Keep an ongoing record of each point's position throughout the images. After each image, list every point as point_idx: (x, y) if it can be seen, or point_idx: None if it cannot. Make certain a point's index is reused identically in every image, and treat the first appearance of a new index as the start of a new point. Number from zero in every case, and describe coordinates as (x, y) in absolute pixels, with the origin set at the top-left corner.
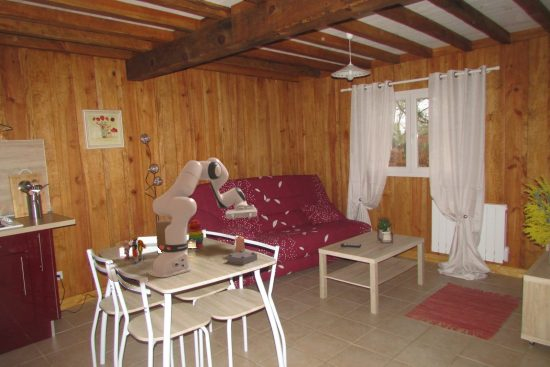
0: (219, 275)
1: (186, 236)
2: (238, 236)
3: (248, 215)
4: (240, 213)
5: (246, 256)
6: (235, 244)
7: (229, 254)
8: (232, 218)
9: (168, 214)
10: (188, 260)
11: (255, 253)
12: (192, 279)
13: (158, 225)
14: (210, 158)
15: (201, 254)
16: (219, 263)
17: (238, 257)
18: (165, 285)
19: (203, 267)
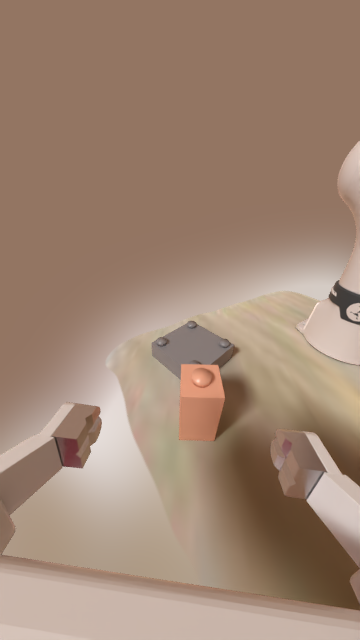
0: (231, 306)
1: (350, 273)
2: (207, 378)
3: (81, 416)
4: (207, 589)
5: (182, 330)
6: (219, 417)
7: (227, 340)
8: (340, 514)
9: None
10: (310, 315)
11: (155, 344)
12: (269, 303)
13: None
14: None
15: None
16: (248, 352)
17: (202, 329)
18: (298, 296)
19: (277, 338)
